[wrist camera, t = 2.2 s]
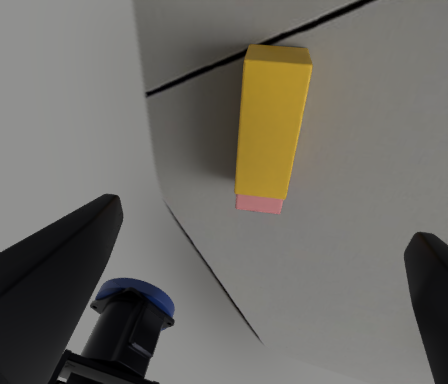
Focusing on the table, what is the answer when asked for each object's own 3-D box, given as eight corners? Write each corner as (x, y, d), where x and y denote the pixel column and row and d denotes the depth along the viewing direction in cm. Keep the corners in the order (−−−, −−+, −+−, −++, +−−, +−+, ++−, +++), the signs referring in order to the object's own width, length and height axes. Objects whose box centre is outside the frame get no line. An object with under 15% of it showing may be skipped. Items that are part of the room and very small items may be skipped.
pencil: (282, 186, 17) (282, 216, 15) (238, 182, 17) (232, 210, 15) (308, 47, 12) (313, 64, 11) (248, 43, 13) (243, 59, 11)
